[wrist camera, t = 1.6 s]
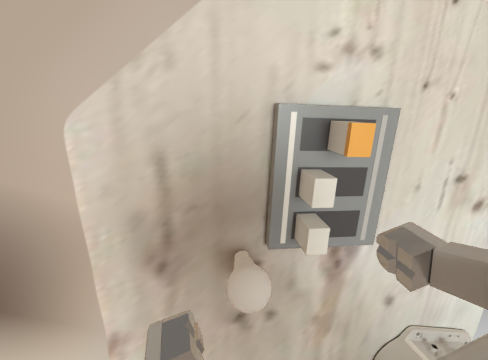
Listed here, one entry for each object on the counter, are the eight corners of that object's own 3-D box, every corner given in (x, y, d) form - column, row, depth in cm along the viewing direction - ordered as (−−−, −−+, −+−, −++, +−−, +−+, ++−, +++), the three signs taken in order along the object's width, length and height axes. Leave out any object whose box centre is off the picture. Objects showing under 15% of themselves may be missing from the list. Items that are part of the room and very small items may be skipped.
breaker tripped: (351, 120, 35) (376, 123, 30) (347, 149, 36) (370, 157, 31) (330, 120, 34) (352, 122, 29) (327, 149, 36) (347, 156, 30)
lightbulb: (215, 256, 41) (217, 308, 30) (241, 230, 40) (252, 275, 29) (241, 276, 42) (252, 332, 32) (266, 252, 42) (286, 300, 31)
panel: (390, 108, 38) (430, 108, 31) (365, 238, 44) (394, 262, 37) (275, 103, 35) (290, 102, 28) (265, 242, 41) (277, 269, 34)
